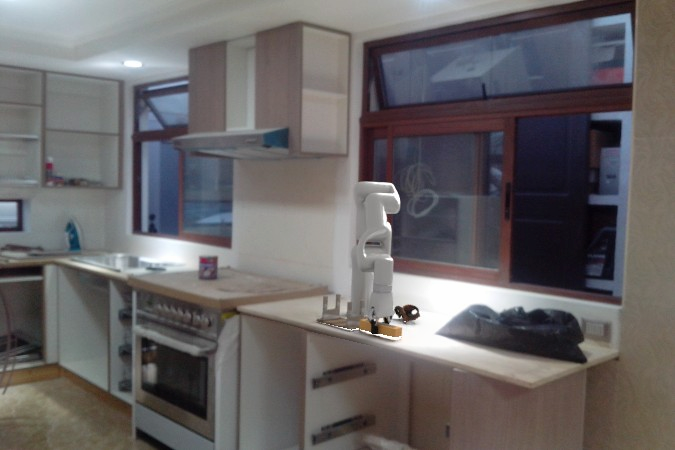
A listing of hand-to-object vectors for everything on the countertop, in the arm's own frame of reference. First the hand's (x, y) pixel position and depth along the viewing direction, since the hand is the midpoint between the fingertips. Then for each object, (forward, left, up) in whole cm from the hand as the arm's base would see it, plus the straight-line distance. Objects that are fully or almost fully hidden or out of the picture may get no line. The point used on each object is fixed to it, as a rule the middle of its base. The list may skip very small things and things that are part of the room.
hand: (379, 333), depth 250 cm
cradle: (+10, -18, -1) cm, 21 cm away
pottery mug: (-20, -24, -1) cm, 31 cm away
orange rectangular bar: (0, 0, -1) cm, 1 cm away
